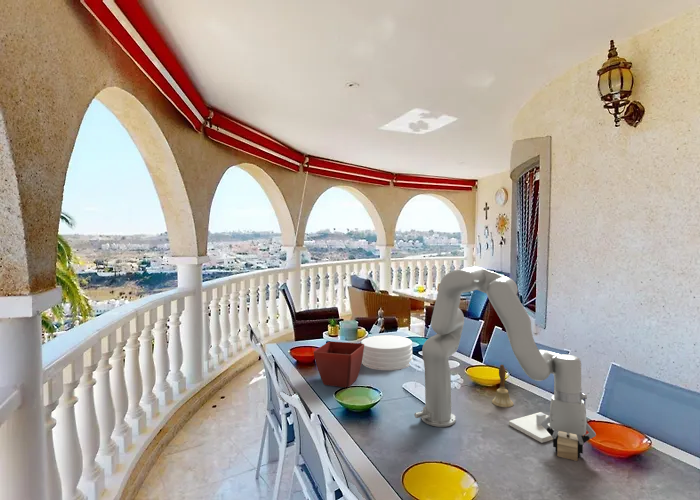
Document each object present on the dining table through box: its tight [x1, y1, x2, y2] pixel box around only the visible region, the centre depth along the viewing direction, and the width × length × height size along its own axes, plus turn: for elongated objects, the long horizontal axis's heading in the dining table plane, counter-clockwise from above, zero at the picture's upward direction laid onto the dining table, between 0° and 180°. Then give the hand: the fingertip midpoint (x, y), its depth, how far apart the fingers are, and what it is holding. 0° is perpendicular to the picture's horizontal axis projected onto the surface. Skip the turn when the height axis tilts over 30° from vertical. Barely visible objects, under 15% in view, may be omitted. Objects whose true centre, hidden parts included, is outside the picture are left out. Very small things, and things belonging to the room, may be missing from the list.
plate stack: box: [360, 334, 413, 371], centre depth 219 cm, size 28×28×12 cm
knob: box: [556, 431, 579, 462], centre depth 124 cm, size 7×5×6 cm
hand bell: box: [491, 364, 515, 408], centre depth 162 cm, size 8×8×16 cm
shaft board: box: [508, 411, 559, 444], centre depth 140 cm, size 16×14×5 cm
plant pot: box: [313, 340, 364, 388], centre depth 190 cm, size 19×19×17 cm
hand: (567, 451), depth 124 cm, fingers closed on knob, 5 cm apart
